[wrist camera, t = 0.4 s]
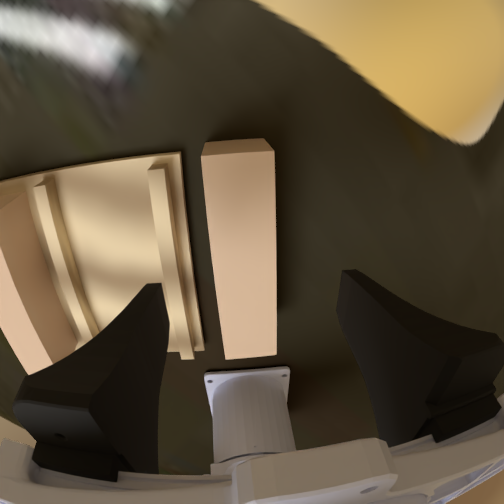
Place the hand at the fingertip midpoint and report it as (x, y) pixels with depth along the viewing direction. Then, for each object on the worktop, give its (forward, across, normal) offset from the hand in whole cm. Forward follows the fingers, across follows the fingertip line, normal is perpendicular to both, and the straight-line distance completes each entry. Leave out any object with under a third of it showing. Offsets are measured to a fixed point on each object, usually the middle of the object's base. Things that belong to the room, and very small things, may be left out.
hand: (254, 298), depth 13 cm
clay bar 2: (+10, 0, +2) cm, 10 cm away
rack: (+10, +13, +4) cm, 16 cm away
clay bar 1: (+9, +17, +4) cm, 19 cm away
